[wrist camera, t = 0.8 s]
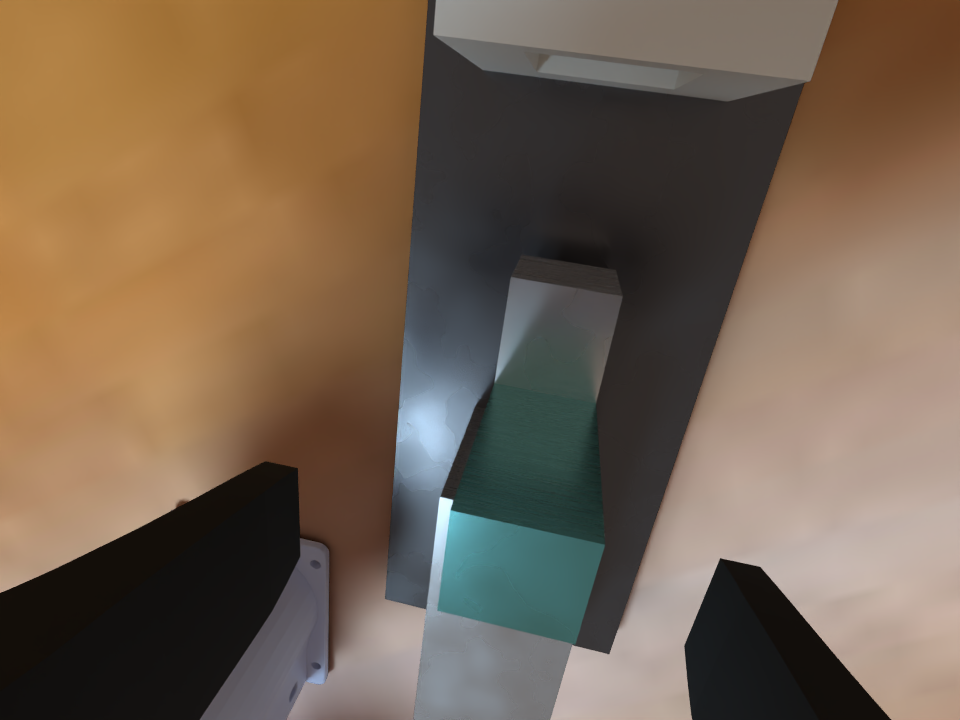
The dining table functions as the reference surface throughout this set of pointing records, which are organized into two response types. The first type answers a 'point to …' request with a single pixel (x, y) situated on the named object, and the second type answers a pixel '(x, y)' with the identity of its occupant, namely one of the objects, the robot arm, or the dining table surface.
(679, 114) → the grey long angular block
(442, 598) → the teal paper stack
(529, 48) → the socket
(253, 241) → the dining table surface
